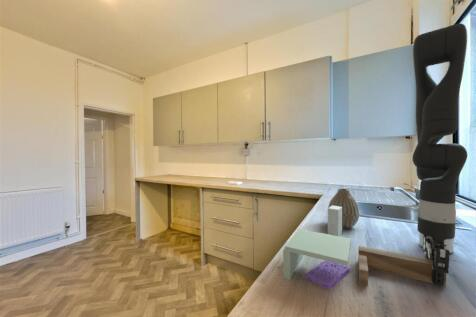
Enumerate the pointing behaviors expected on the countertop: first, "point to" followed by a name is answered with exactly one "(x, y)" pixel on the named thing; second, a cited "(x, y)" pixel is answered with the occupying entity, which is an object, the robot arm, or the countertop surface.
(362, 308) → the countertop surface
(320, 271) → the sponges
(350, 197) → the vase
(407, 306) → the countertop surface
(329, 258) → the wall shelf
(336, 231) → the skincare box
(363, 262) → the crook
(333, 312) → the countertop surface
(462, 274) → the countertop surface
